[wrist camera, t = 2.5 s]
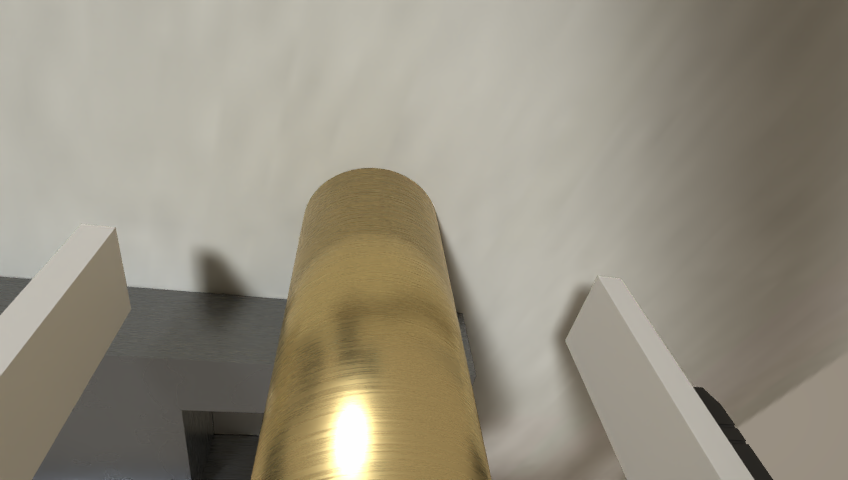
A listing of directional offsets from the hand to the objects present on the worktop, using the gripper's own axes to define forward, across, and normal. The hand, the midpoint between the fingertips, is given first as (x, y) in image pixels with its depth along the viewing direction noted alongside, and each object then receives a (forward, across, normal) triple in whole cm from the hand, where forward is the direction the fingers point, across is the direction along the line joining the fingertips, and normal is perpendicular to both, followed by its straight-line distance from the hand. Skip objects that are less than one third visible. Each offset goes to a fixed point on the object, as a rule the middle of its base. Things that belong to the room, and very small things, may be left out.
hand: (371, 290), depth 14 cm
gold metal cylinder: (+3, 0, 0) cm, 3 cm away
